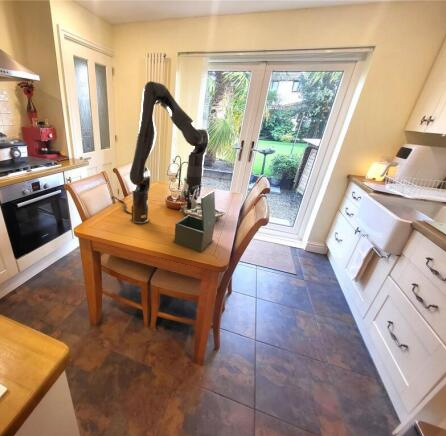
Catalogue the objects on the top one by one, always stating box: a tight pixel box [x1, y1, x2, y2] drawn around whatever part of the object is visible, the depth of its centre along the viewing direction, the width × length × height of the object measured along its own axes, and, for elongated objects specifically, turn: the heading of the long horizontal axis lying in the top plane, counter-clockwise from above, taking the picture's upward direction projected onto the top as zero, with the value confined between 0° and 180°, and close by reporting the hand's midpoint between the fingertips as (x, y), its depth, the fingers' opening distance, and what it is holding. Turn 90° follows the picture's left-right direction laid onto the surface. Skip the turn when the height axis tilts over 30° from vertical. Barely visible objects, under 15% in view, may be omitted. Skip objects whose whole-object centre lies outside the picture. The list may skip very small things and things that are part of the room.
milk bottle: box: [179, 176, 192, 200], centre depth 168 cm, size 8×8×20 cm
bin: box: [173, 215, 216, 253], centre depth 122 cm, size 16×14×11 cm
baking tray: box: [179, 202, 227, 221], centre depth 154 cm, size 30×22×5 cm
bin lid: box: [200, 190, 216, 232], centre depth 113 cm, size 17×14×1 cm
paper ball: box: [191, 199, 198, 209], centre depth 117 cm, size 5×5×5 cm
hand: (191, 207), depth 118 cm, fingers closed on paper ball, 5 cm apart
